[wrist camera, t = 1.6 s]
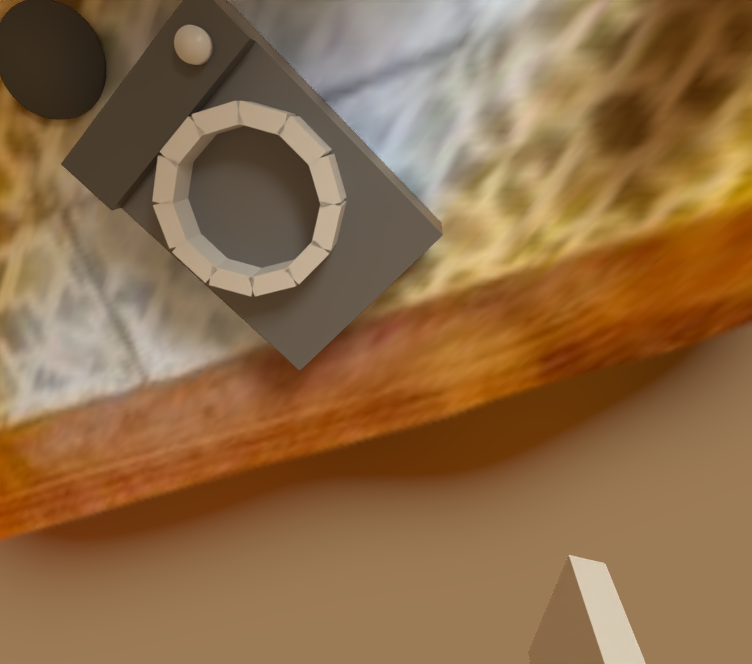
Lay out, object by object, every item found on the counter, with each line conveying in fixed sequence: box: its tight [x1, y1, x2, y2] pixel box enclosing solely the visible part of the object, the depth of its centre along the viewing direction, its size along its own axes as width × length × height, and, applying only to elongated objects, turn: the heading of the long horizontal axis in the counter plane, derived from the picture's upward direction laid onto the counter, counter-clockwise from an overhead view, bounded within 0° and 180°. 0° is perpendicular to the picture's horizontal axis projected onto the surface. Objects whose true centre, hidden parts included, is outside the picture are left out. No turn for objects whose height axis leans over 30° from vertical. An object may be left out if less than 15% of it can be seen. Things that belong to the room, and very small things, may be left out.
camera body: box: [61, 0, 443, 371], centre depth 31 cm, size 16×11×6 cm
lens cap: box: [0, 0, 106, 119], centre depth 33 cm, size 6×6×1 cm
